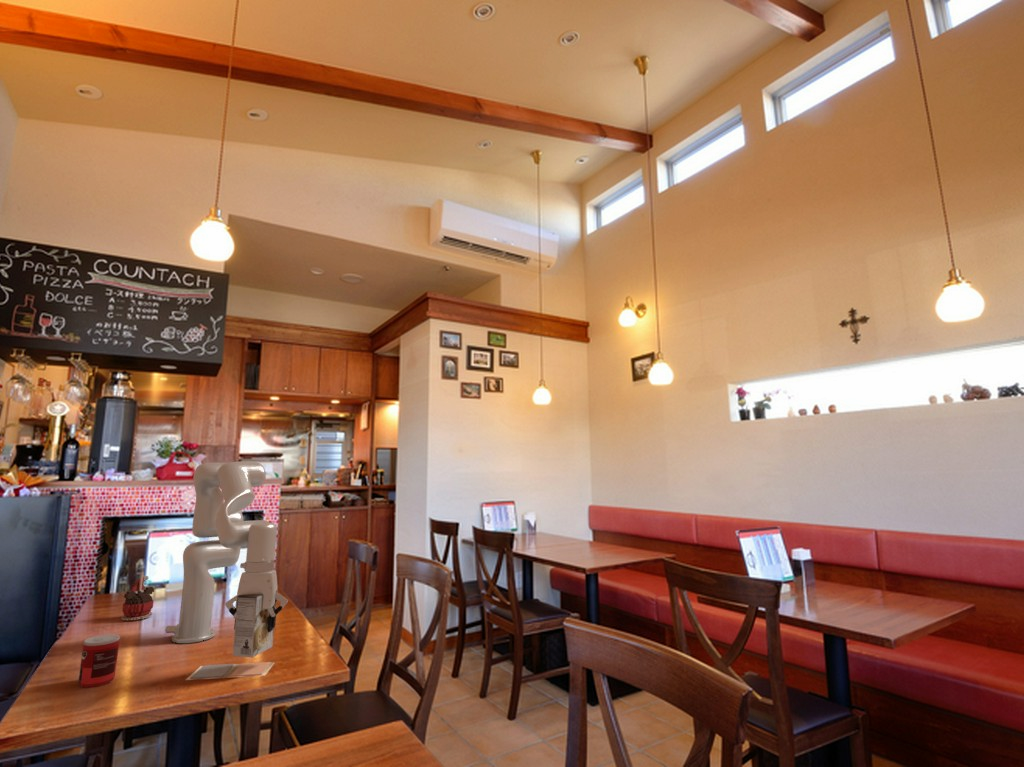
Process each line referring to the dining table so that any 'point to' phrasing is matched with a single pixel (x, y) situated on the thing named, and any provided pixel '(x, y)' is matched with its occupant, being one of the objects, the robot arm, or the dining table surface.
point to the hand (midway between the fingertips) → (254, 631)
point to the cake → (138, 600)
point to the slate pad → (212, 671)
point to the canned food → (99, 660)
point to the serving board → (232, 672)
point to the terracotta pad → (250, 669)
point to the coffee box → (251, 627)
